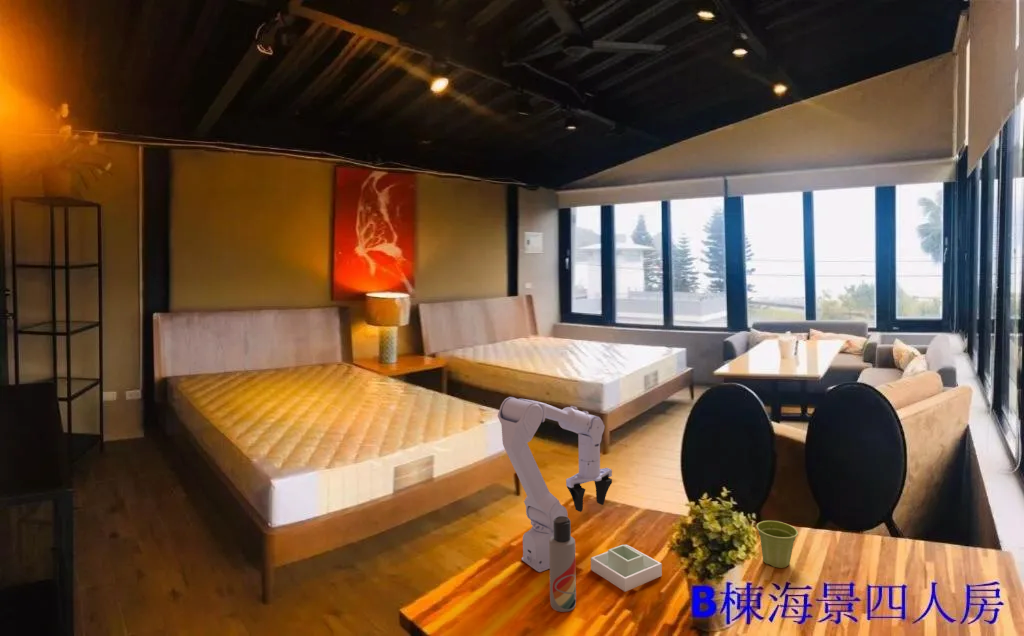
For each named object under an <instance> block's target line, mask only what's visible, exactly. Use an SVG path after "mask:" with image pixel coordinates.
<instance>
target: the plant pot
mask: <svg viewBox="0 0 1024 636" xmlns="http://www.w3.org/2000/svg"><path fill="white" fill-rule="evenodd" d="M756 530H758V534H759V539H760V546H761V554H762V555H761V556H762V561H763V562H764V563H765V564H767V565H770V566H772V567H774V568H780V569H781V568H782V569H783V568H787V566H790V563H791V559H792V554H793V549H794V548H793V546H794V543H795V542H796V537H798V536H799V531H798V530H797V528H796V527H794V526H793V525H791V524H788V523H785V522H782V521H779V520H763V521H760V522H758V523H757V524H756Z"/></svg>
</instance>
